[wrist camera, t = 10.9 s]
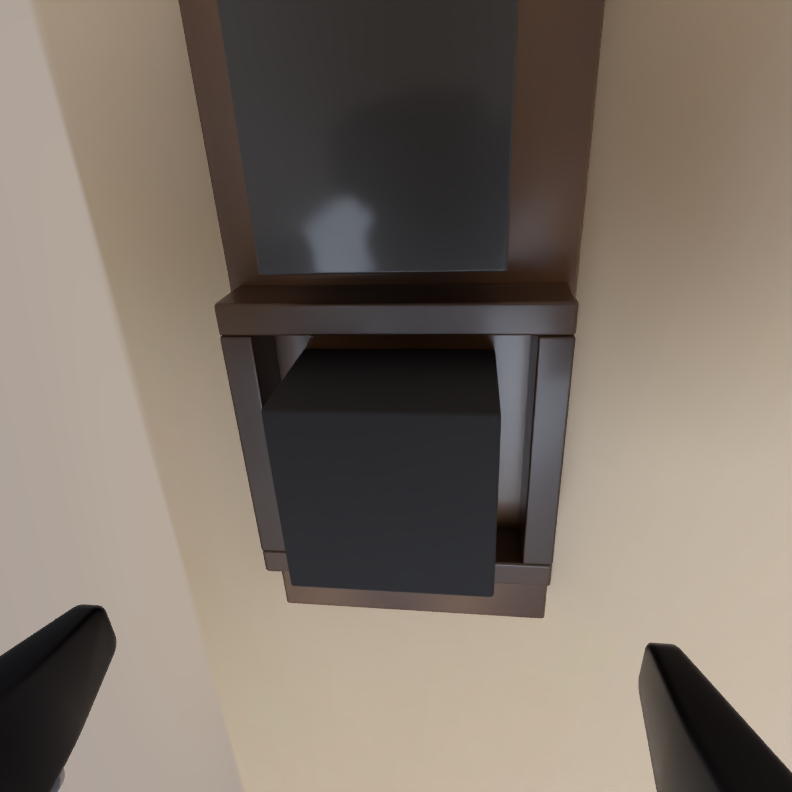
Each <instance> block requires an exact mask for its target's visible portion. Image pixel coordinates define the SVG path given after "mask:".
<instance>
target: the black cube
mask: <svg viewBox="0 0 792 792" xmlns="http://www.w3.org/2000/svg"><path fill="white" fill-rule="evenodd" d="M261 415H262V421H263V426H264V432H265V438H266V443H267V449H268V455H269V461H270V466H271V472H272V478H273V483H274V489H275V495H276V500H277V506H278V512H279V517H280V523H281V529H282V534H283V540H284V546H285V552H286V557H287V563H288V569H289V574H290V580H291V584H292V585H293V586H302V587H319V588H337V589H355V590H372V591H390V592H407V593H425V594H442V595H460V596H477V597H492V596H493V594H494V583H495V558H496V534H497V509H498V485H499V460H500V436H501V407H500V396H499V386H498V375H497V364H496V353H495V350H493V349H305V350H303V351H302V353H301V354H300V356H299V357H298V359H297V360H296V361H295V363H294V364H293V366H292V367H291V369H290V370H289V371H288V373H287V374H286V376H285V377H284V379H283V380H282V381H281V383H280V384H279V386H278V387H277V389H276V390H275V391H274V393H273V394H272V396H271V397H270V398H269V400H268V401H267V403H266V404H265V406H264V407H263V408H262V411H261Z"/></svg>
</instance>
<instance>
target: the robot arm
mask: <svg viewBox="0 0 792 792" xmlns="http://www.w3.org/2000/svg"><path fill="white" fill-rule="evenodd" d="M115 648H116V636H115V633H114V631H113V629H112V626H111V623H110V621H109V618H108V616H107V613H106V611H105V609H104V608H103V607H101V606H98V605H78V606H76V607H74V608H72V609H71V610H69V611H68V612H66V613H65V614H63V615H62V616H60V617H58V618H57V619H55V620H54V621H53V622H51V623H49V624H48V625H47V626H45V627H43V628H42V629H40V630H39V631H37V632H36V633H34V634H33V635H31V636H30V637H28V638H27V639H26V640H24V641H22V642H21V643H19V644H18V645H16V646H15V647H13V648H12V649H10V650H9V651H7V652H6V653H4V654H3V655H1V656H0V792H51V790H52V788H53V786H54V785H55V783H56V781H57V779H58V777H59V775H60V773H61V771H62V769H63V767H64V766H65V764H66V762H67V760H68V758H69V756H70V754H71V752H72V750H73V748H74V746H75V744H76V742H77V740H78V737H79V735H80V733H81V731H82V729H83V726H84V724H85V722H86V719H87V717H88V715H89V712H90V710H91V707H92V705H93V702H94V700H95V698H96V696H97V693H98V691H99V688H100V686H101V684H102V681H103V679H104V676H105V674H106V672H107V669H108V667H109V664H110V662H111V660H112V657H113V655H114V652H115ZM639 694H640V700H641V706H642V711H643V717H644V723H645V728H646V734H647V739H648V745H649V751H650V756H651V762H652V767H653V773H654V779H655V784H656V789H657V792H792V773H791V771H790V770H789V769H788V768H787V767H786V766H785V765H784V764H783V763H782V761H781V760H780V759H779V758H778V757H777V756H776V755H775V754H774V753H773V751H772V750H771V749H770V748H769V747H768V746H767V745H766V744H765V743H764V741H763V740H762V739H761V738H760V737H759V736H758V735H757V734H756V733H755V731H754V730H753V729H752V728H751V727H750V726H749V725H748V724H747V723H746V721H745V720H744V719H743V718H742V717H741V716H740V715H739V714H738V713H737V711H736V710H735V709H734V708H733V707H732V706H731V705H730V704H729V703H728V701H727V700H726V699H725V698H724V697H723V696H722V695H721V694H720V693H719V691H718V690H717V689H716V688H715V687H714V686H713V685H712V684H711V683H710V681H709V680H708V679H707V678H706V677H705V676H704V675H703V674H702V673H701V671H700V670H699V669H698V668H697V667H696V666H695V665H694V664H693V663H692V661H691V660H690V659H689V658H688V657H687V656H686V655H685V654H684V653H683V651H682V650H681V649H680V648H678V647H677V646H675V645H673V644H663V643H649V644H648V645H647V646H646V648H645V652H644V657H643V661H642V666H641V670H640V675H639Z"/></svg>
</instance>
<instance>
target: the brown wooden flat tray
mask: <svg viewBox="0 0 792 792" xmlns="http://www.w3.org/2000/svg"><path fill="white" fill-rule="evenodd" d="M179 6H180V11H181V17H182V22H183V28H184V33H185V39H186V44H187V50H188V55H189V61H190V66H191V72H192V77H193V83H194V88H195V94H196V99H197V105H198V110H199V116H200V121H201V127H202V133H203V138H204V144H205V149H206V155H207V160H208V166H209V171H210V177H211V182H212V188H213V193H214V199H215V204H216V210H217V215H218V221H219V226H220V232H221V237H222V243H223V248H224V254H225V259H226V265H227V270H228V276H229V281H230V287H231V292H230V293H229V294H228V295H226V296H225V297H224V298H223V299H221V300H220V301H219V302H217V303H216V304H215V312H216V317H217V322H218V327H219V332H220V335H222V336H221V338H220V339H221V344H222V350H223V355H224V360H225V365H226V370H227V375H228V380H229V385H230V390H231V395H232V400H233V405H234V410H235V415H236V420H237V425H238V430H239V435H240V441H241V446H242V451H243V456H244V461H245V466H246V471H247V476H248V481H249V486H250V491H251V496H252V501H253V506H254V511H255V516H256V521H257V526H258V532H259V537H260V542H261V547H262V550H263V554H264V560H265V565H266V569H267V570H268V571H282V574H283V579H284V585H285V590H286V596H287V601H288V602H289V603H303V604H319V605H335V606H351V607H368V608H384V609H400V610H416V611H432V612H448V613H464V614H480V615H496V616H512V617H529V618H543V617H544V612H545V602H546V592H547V586H549V584H550V580H551V570H552V563H553V553H554V543H555V533H556V524H557V514H558V504H559V494H560V485H561V475H562V465H563V455H564V446H565V436H566V426H567V416H568V406H569V397H570V387H571V377H572V367H573V358H574V348H575V336H574V334H575V333H576V326H577V316H578V306H579V303H578V301H577V299H576V289H577V279H578V269H579V259H580V249H581V239H582V229H583V219H584V208H585V198H586V188H587V178H588V168H589V158H590V148H591V138H592V128H593V118H594V108H595V97H596V87H597V77H598V67H599V57H600V47H601V37H602V27H603V17H604V7H605V0H179ZM305 349H493V350H495V353H496V364H497V375H498V386H499V396H500V407H501V436H500V460H499V485H498V509H497V534H496V558H495V583H494V594H493V596H492V597H477V596H460V595H442V594H425V593H407V592H390V591H372V590H355V589H337V588H319V587H302V586H293V585H292V584H291V580H290V574H289V569H288V563H287V557H286V552H285V546H284V540H283V534H282V529H281V523H280V517H279V512H278V506H277V500H276V495H275V489H274V483H273V478H272V472H271V466H270V461H269V455H268V449H267V443H266V438H265V432H264V426H263V421H262V415H261V411H262V408H263V407H264V406H265V404H266V403H267V401H268V400H269V398H270V397H271V396H272V394H273V393H274V391H275V390H276V389H277V387H278V386H279V384H280V383H281V381H282V380H283V379H284V377H285V376H286V374H287V373H288V371H289V370H290V369H291V367H292V366H293V364H294V363H295V361H296V360H297V359H298V357H299V356H300V354H301V353H302V351H303V350H305Z"/></svg>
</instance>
